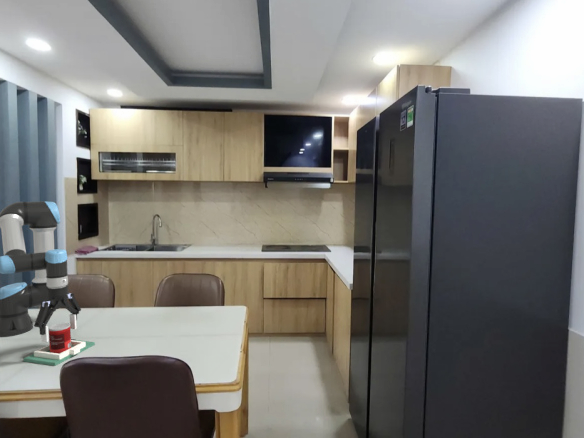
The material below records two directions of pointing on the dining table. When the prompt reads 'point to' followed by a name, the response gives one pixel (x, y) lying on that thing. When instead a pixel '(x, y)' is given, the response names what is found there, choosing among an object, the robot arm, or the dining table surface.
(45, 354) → the board
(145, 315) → the dining table surface
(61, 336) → the canned food
